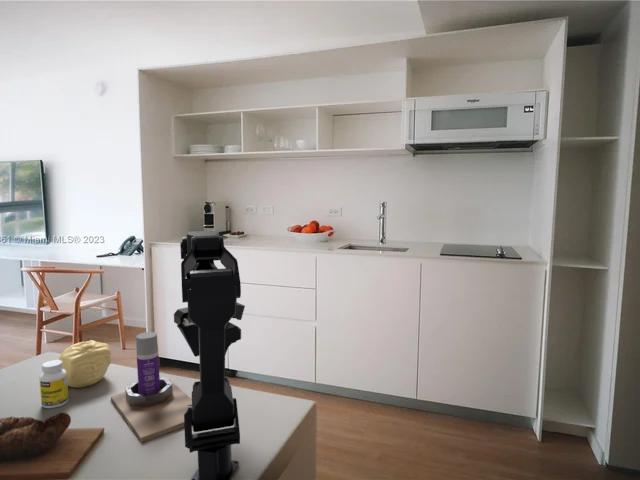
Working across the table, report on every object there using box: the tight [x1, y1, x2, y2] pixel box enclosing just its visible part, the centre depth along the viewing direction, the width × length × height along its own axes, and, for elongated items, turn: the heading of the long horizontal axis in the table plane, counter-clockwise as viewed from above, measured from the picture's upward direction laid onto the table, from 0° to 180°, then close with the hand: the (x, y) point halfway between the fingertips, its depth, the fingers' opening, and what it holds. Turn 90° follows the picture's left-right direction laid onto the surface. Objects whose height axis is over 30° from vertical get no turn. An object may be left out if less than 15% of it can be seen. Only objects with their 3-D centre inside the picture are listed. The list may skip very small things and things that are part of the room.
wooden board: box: [110, 378, 192, 443], centre depth 98 cm, size 22×14×1 cm, turn 40°
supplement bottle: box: [39, 359, 70, 409], centre depth 100 cm, size 5×5×10 cm
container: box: [135, 331, 160, 395], centre depth 100 cm, size 5×5×15 cm
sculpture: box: [58, 339, 112, 389], centre depth 111 cm, size 11×12×11 cm
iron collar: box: [124, 377, 173, 407], centre depth 101 cm, size 10×10×2 cm
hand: (207, 362), depth 91 cm, fingers open, 9 cm apart
